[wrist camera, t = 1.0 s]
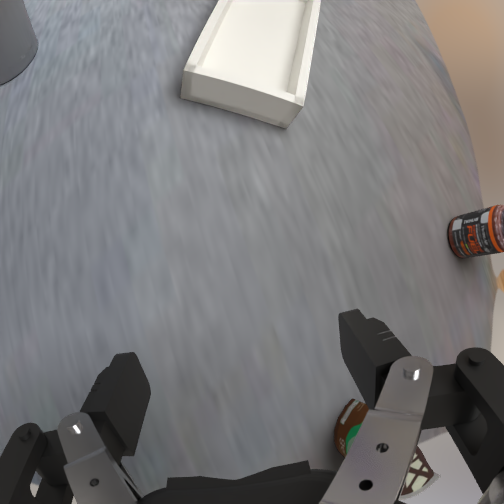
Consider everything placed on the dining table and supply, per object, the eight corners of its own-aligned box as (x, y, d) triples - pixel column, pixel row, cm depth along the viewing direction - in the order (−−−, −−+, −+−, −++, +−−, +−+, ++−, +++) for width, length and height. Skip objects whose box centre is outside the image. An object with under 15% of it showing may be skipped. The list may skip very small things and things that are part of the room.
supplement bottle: (440, 231, 38) (506, 214, 27) (458, 209, 39) (518, 189, 28) (459, 267, 38) (523, 258, 27) (475, 242, 40) (534, 230, 29)
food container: (303, 427, 30) (350, 469, 20) (346, 389, 32) (403, 416, 22) (354, 482, 30) (401, 520, 21) (390, 449, 32) (442, 478, 23)
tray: (286, 129, 34) (303, 106, 29) (180, 98, 31) (183, 70, 26) (310, 6, 38) (323, -15, 33) (235, -18, 36) (243, -41, 31)
